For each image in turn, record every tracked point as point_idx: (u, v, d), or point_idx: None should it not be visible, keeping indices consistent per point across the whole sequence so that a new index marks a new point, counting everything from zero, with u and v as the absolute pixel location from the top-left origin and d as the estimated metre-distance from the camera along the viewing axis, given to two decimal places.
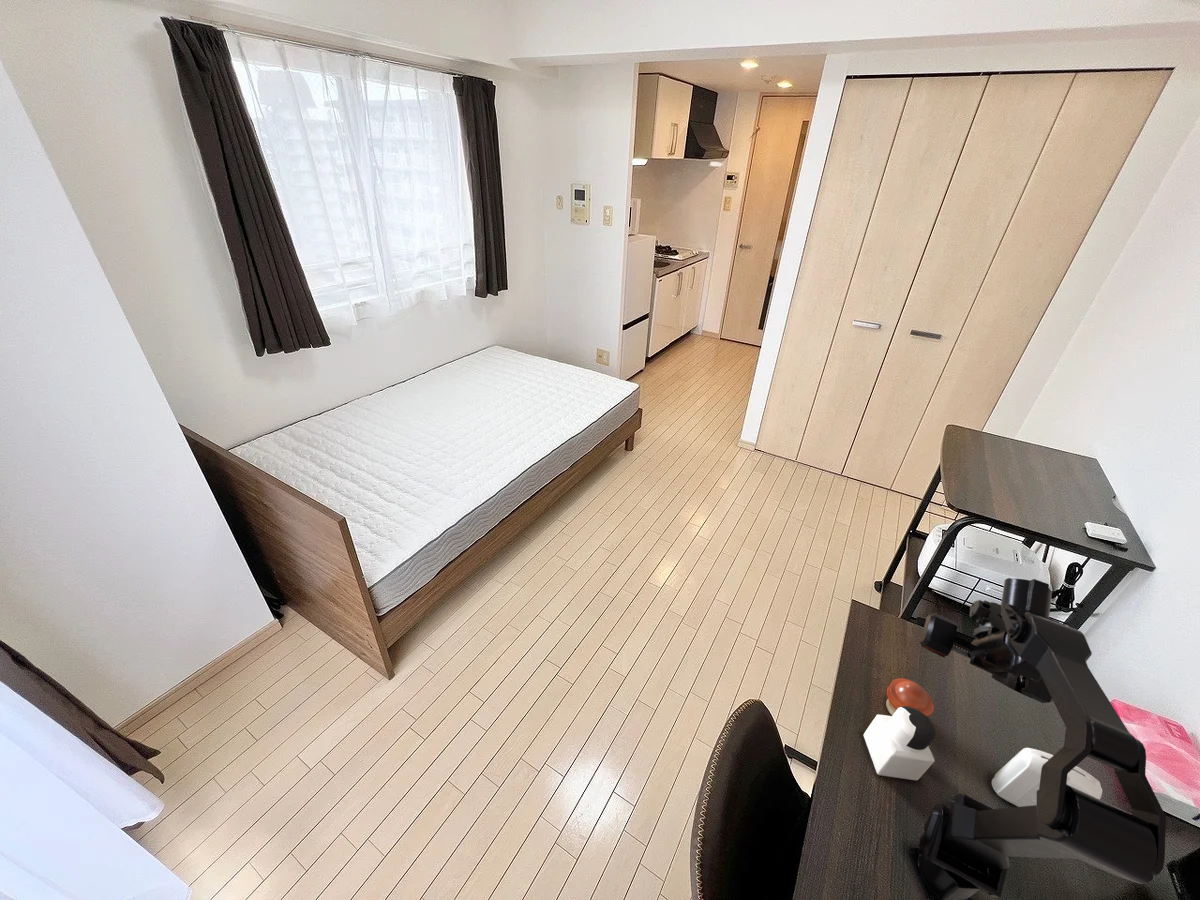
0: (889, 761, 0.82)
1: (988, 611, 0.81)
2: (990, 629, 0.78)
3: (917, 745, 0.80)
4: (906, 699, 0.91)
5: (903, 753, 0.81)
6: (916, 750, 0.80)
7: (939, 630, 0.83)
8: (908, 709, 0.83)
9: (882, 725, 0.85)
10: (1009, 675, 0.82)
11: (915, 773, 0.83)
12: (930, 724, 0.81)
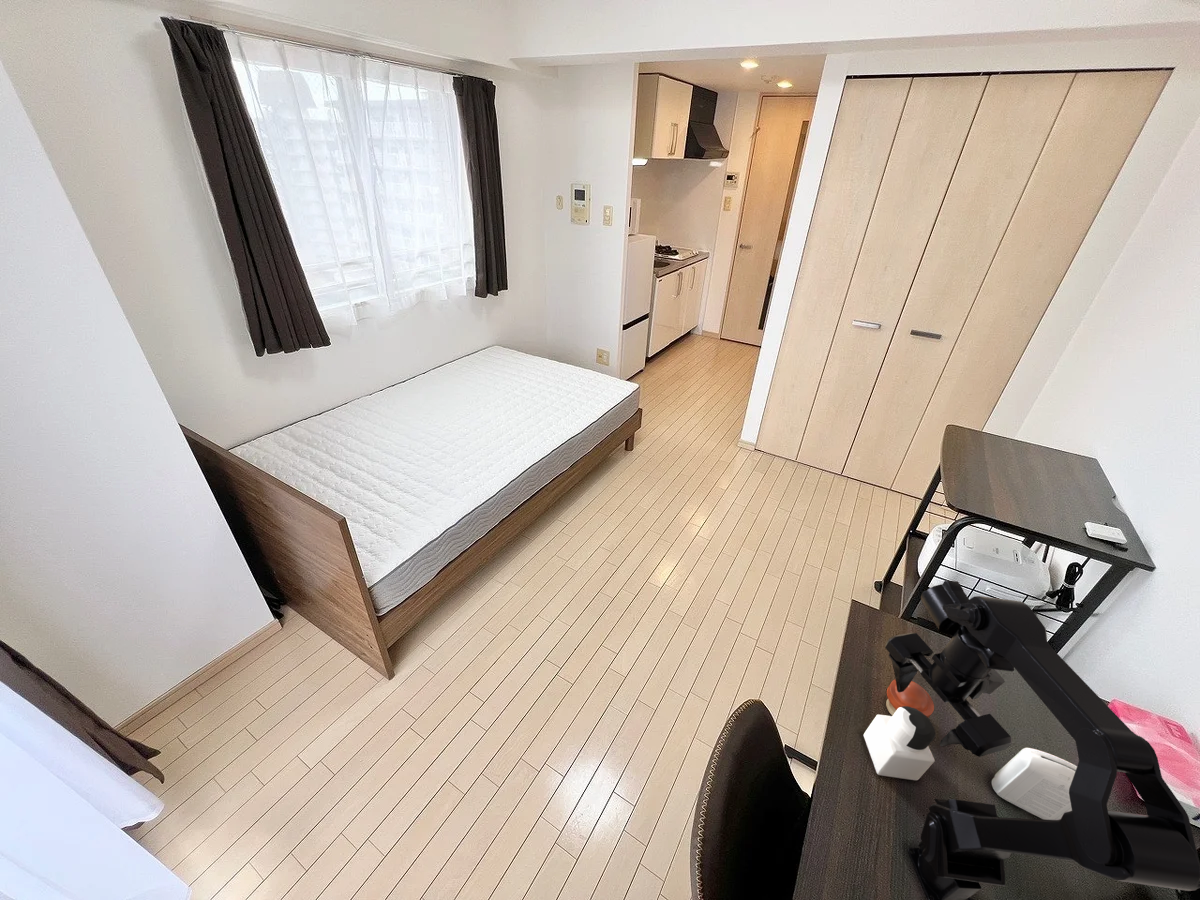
0: (889, 761, 0.82)
1: None
2: None
3: (917, 745, 0.80)
4: (906, 699, 0.91)
5: (903, 753, 0.81)
6: (916, 750, 0.80)
7: (911, 639, 0.82)
8: (908, 709, 0.83)
9: (882, 725, 0.85)
10: None
11: (915, 773, 0.83)
12: (930, 724, 0.81)
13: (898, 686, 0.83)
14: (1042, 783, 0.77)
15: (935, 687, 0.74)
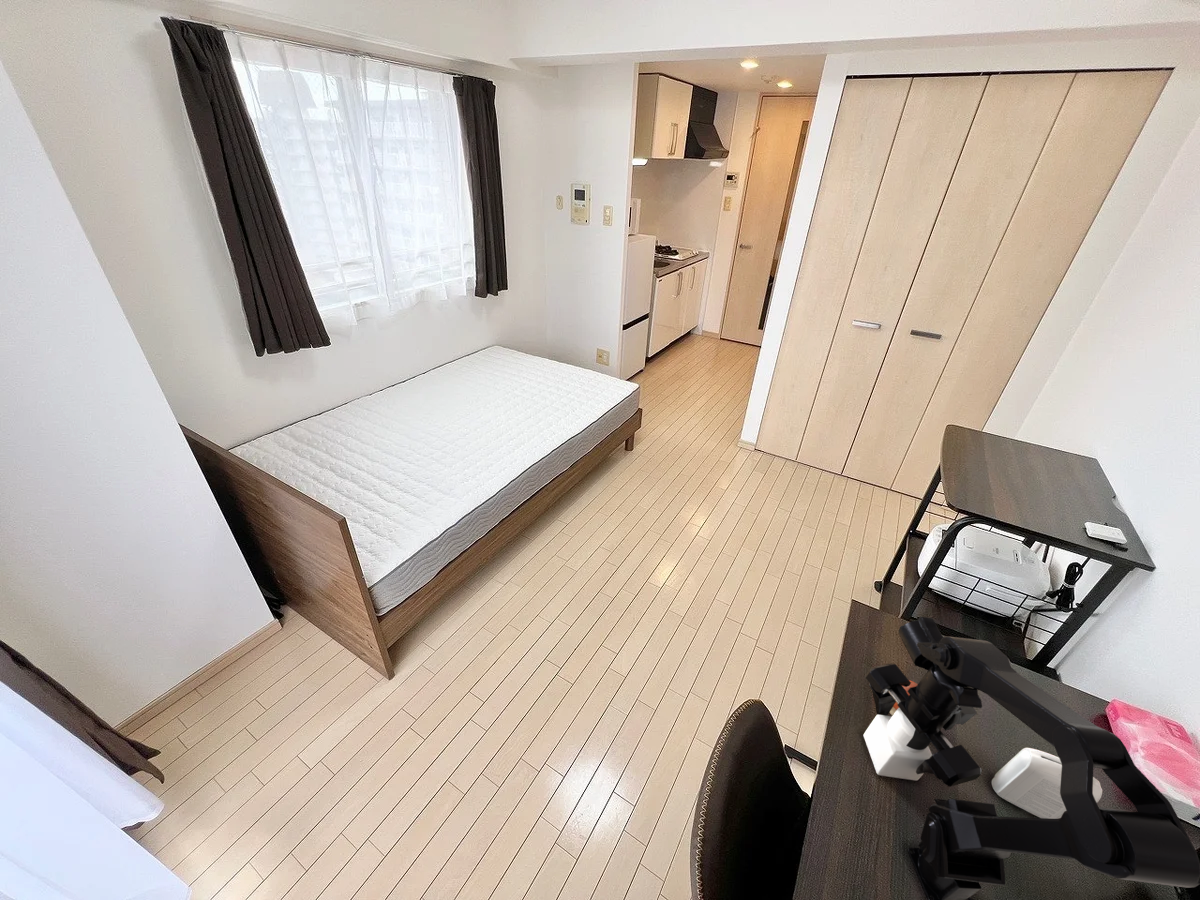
0: (888, 761, 0.82)
1: None
2: None
3: (917, 745, 0.80)
4: None
5: (903, 753, 0.81)
6: (916, 750, 0.80)
7: (890, 671, 0.86)
8: None
9: (881, 725, 0.85)
10: None
11: (914, 773, 0.83)
12: None
13: (878, 714, 0.88)
14: (1042, 783, 0.77)
15: (911, 719, 0.79)
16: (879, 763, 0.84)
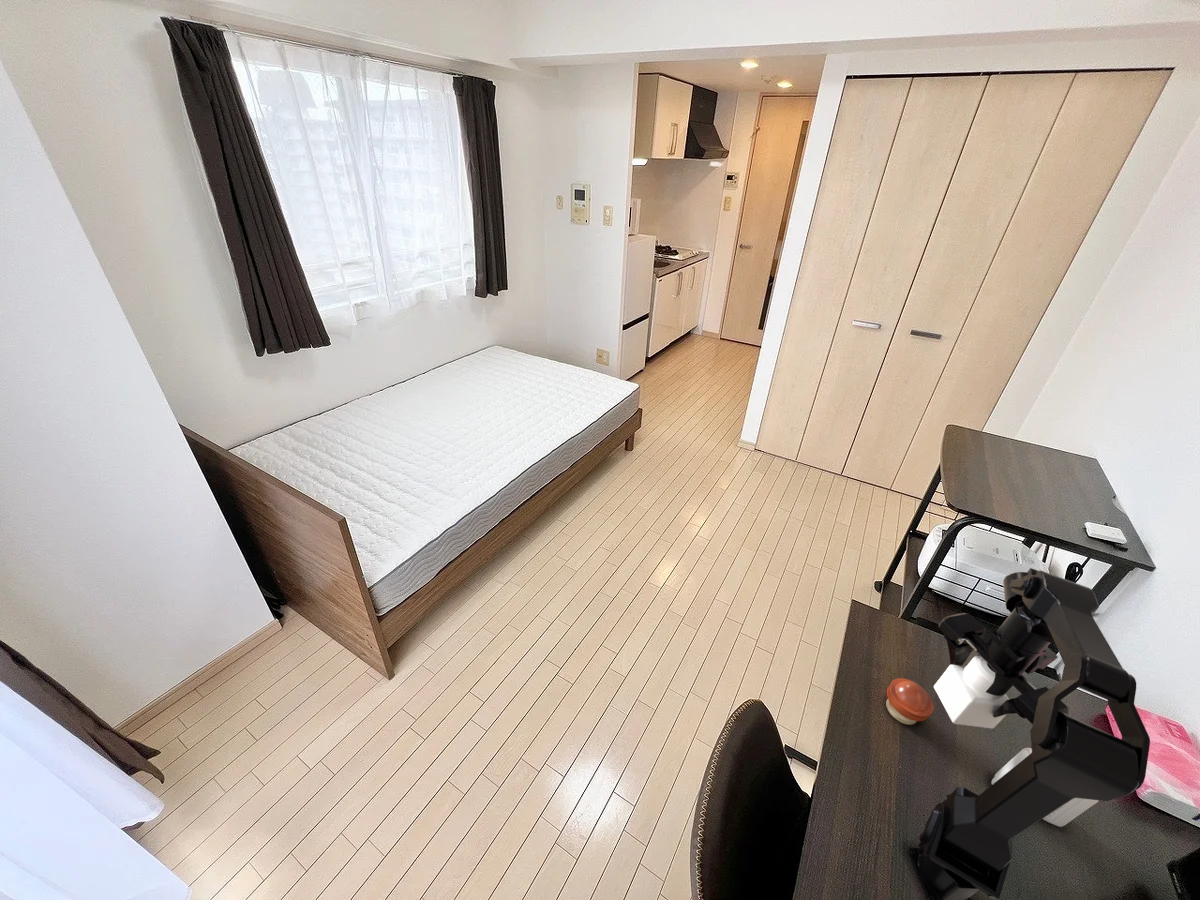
0: (967, 708, 0.82)
1: None
2: None
3: (998, 690, 0.79)
4: (906, 699, 0.91)
5: (981, 699, 0.81)
6: (995, 696, 0.80)
7: (964, 619, 0.86)
8: None
9: (956, 674, 0.85)
10: None
11: (991, 720, 0.83)
12: None
13: None
14: None
15: (992, 663, 0.78)
16: (955, 712, 0.84)
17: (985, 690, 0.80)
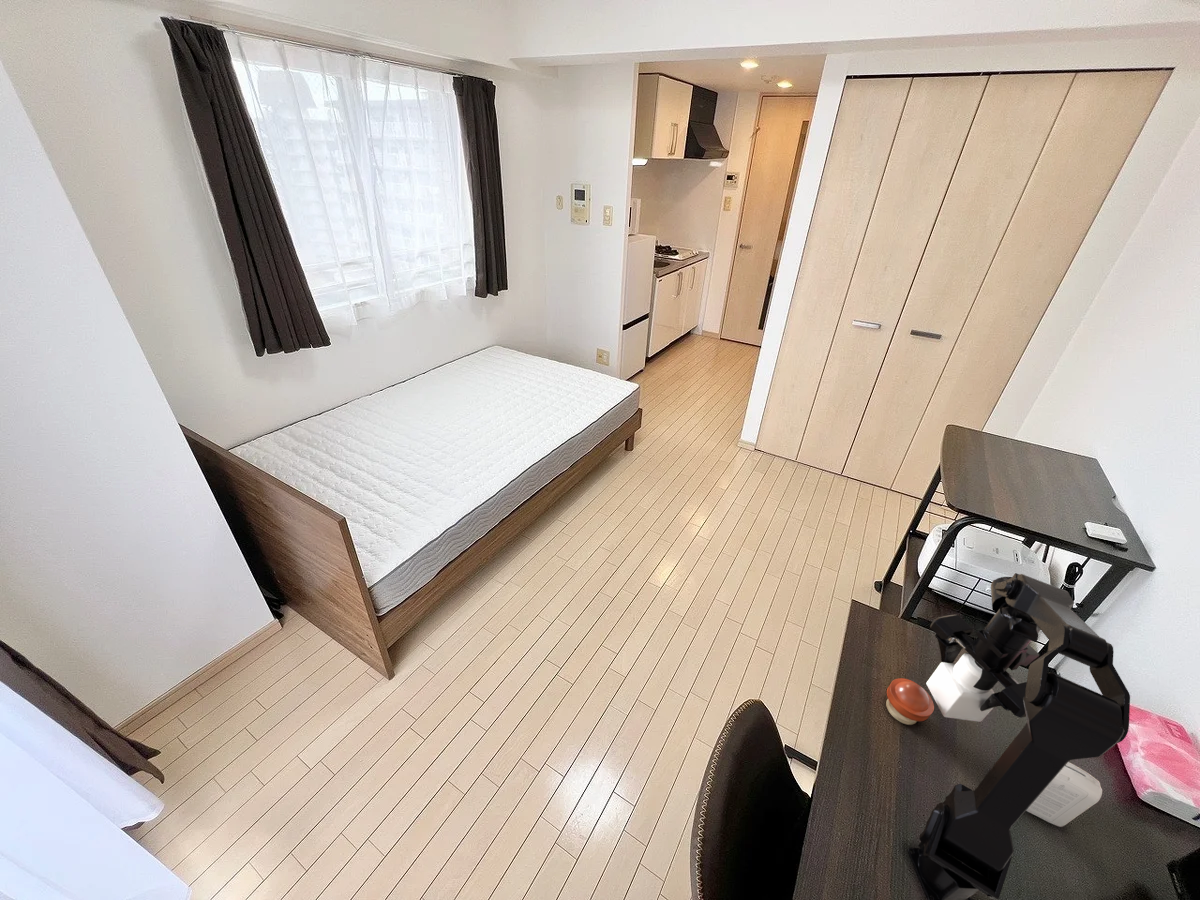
0: (956, 702, 0.88)
1: None
2: None
3: (984, 685, 0.86)
4: (906, 699, 0.91)
5: (970, 694, 0.88)
6: (982, 691, 0.87)
7: (953, 620, 0.93)
8: None
9: (947, 671, 0.91)
10: None
11: (979, 713, 0.89)
12: None
13: None
14: None
15: (979, 660, 0.85)
16: (945, 706, 0.91)
17: (973, 685, 0.87)
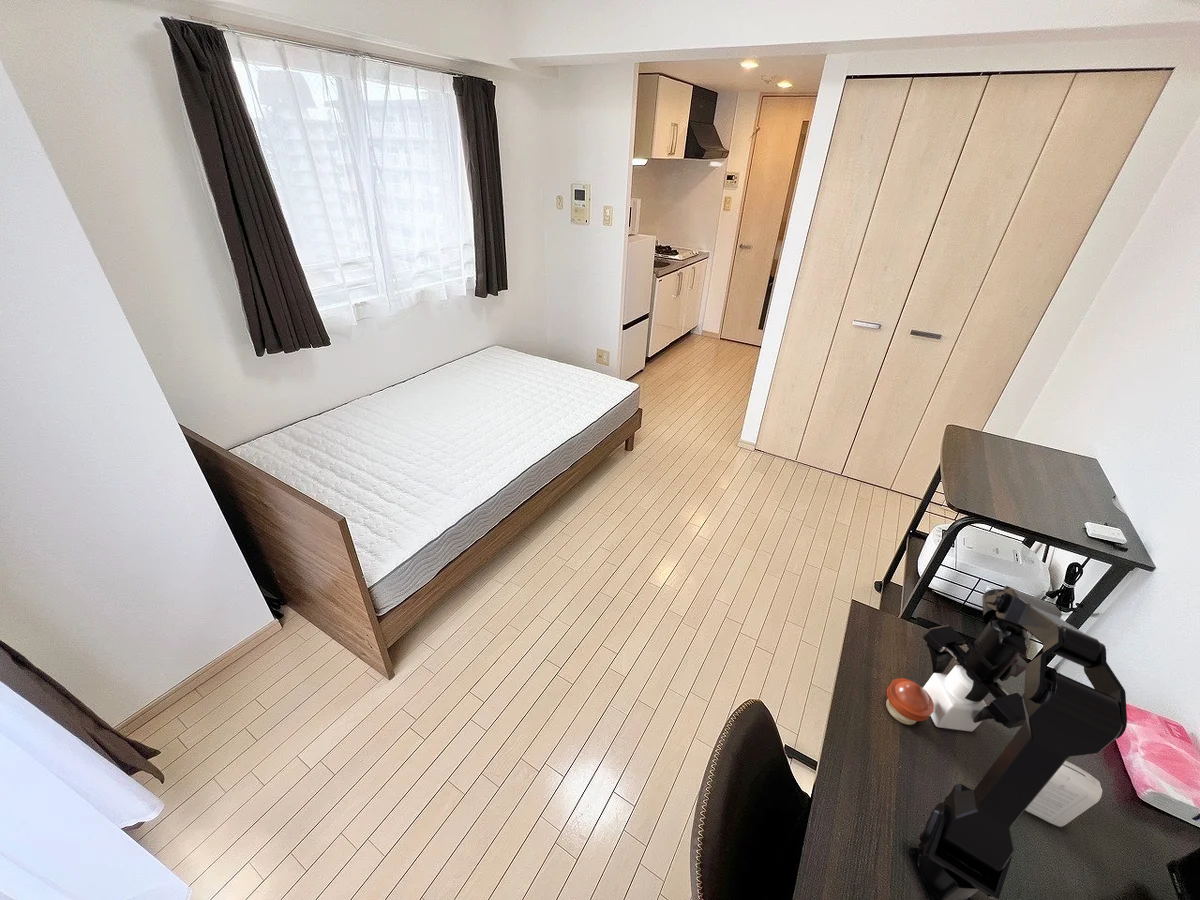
0: (948, 713, 0.90)
1: None
2: None
3: (975, 697, 0.88)
4: (906, 699, 0.91)
5: (961, 705, 0.89)
6: (974, 702, 0.89)
7: (946, 631, 0.94)
8: None
9: (939, 682, 0.93)
10: None
11: (971, 724, 0.91)
12: None
13: (934, 672, 0.96)
14: None
15: (970, 671, 0.87)
16: (938, 716, 0.92)
17: (964, 696, 0.89)
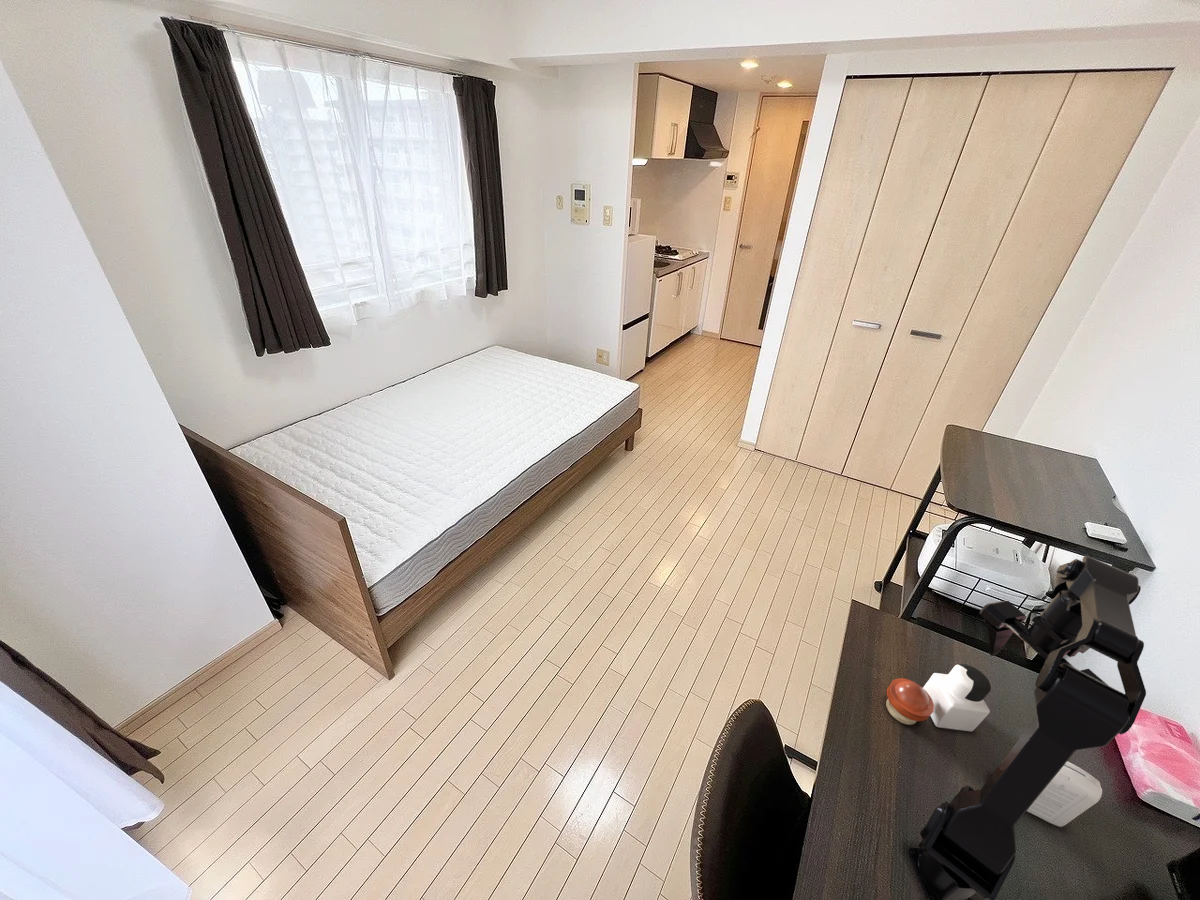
0: (948, 713, 0.90)
1: None
2: None
3: (975, 697, 0.88)
4: (906, 699, 0.91)
5: (961, 705, 0.89)
6: (974, 702, 0.89)
7: (1005, 606, 0.90)
8: (964, 666, 0.91)
9: (939, 682, 0.93)
10: None
11: (971, 724, 0.91)
12: (986, 678, 0.89)
13: (992, 650, 0.91)
14: None
15: (1035, 646, 0.82)
16: (938, 716, 0.92)
17: (964, 696, 0.89)
